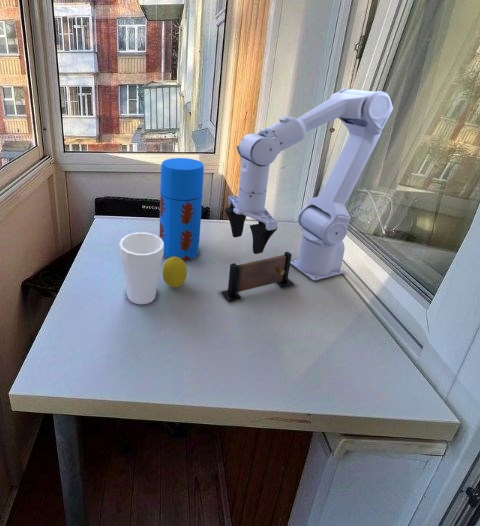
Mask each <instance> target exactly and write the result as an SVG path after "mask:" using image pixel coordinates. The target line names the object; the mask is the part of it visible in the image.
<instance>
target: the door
mask: <svg viewBox="0 0 480 526" xmlns="http://www.w3.org/2000/svg"><path fill="white" fill-rule="evenodd" d="M285 260H286V256H284V254H282V255H277V256H273V257H268V258H263V259H260V260H255V261H254V260H253V261H249V262H246V263H241V264H236V265H237V266H238V272H237V282H236V291H235V292H237V293H238V294H239V293H240V292H244V291H249V290H253V289H255V288H260V287H264V286H267V285H271V284H277V282H280V281H282V280H283V274H284V273H285V271H284V267H285Z"/></svg>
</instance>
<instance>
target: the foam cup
mask: <svg viewBox="0 0 480 526" xmlns="http://www.w3.org/2000/svg"><path fill="white" fill-rule="evenodd" d="M118 245H119V246H118V251H119V256H120V259H121V265H122V272H123V277H124V278H123V279H124V282H125V284H124V285H125V290H126V295H127V299H128V300H129V301H131V303H133V304H137V305H147V304H150V303H152V302H153V301H154V300H155V299H156V295H157V291H158V290H157V289H158V284H159V277H160V272H161V265H162V260H163V258H164V255H163V254H164V242H163V241H162V239H161V238H160V237H159V235H156V234H155V233H151V232H147V231H145V232H143V231H142V232H132V233H128V234H126V235H125V236H123V237H121V240H119V243H118Z"/></svg>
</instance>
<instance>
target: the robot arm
mask: <svg viewBox="0 0 480 526" xmlns="http://www.w3.org/2000/svg"><path fill="white" fill-rule="evenodd" d="M393 110H394V106H393V103H392V100H391V97H390V95H389V94H388V93H387V92H385V91H380V90H379V91H373V90H371V91H370V90H362V89H361V90H360V89H352V88H343V89H340V90H339V91H338V92H334V93H331V95H330V97H329V98H328V99H326V100H325V101H324V102H321V103H320V104H319V105H317V106H315V107H313V108H312V109H310V110H309V111H306V112H305V113H304V114H302V115H300V116H298V117H297V118H296V117H294V116H281V117H280V118H279V119H278V120H279V121H277V122H276V123H273V124H271V125H270V126H268V127H263V128H261V129H259V132H258V133H255V132H254V133H253V132H252V133H248V134H246V135H245V136H243V137H242V138H241V140H240V142H239V144H237V145H236V151H237V154H238V155H239V157H240V172H239V183H238V184H239V185H238V195H229V196H227V205H229V206H228V207H225V209H224V212H225V213H226V216H227V218H228V221H229V224H230V229H231V235H232V237H233V238H240V237H242V236H243V232H244V227H245V222H246V219H247V217H248V218H251V219H253V220H255V221H256V222H257V223H255V224H250V225H249V228H250V231H251V236H252V253H253V254H254V255H258V254H263V252H264V250H265V247H266V245H267V244H268V242H269V240H270V238H271V237H272V236H273V235H274V233H275V232H276V231H277V230H278V220H277V219H276V218H274V217H273V216H272V215H271V213H270V212H269V210H267V209H266V200H267V192H268V191H267V190H268V183H269V181H268V180H269V173H270V165H271V164H272V163H273V162H274V161H275V160H276V158H277V157H278V155H279V154H281V153H282V152H283V151H284V150H286V149H288V148H290V147H292V146H294V145H296V144H298V143H299V142H302V141H303V140H304V139H305V137H306V133H307V132H309V131H311V130H313V129H317V128H318V127H321V126H323V125H325V124H328V123H329V122H332V121H334V120H336V119H339V120H340V122H341V123H342V124H343V125H344V126H345V127H346V130H347V131H348V133H349V135H348V138H347V140H346V142H345V144H344V145H343V147H342V150H341V152H340V154H339V156H338V158H337V160H336V162H335V164H334V166H333V168H332V170H331V172H330V174H329V177H328V178H327V181H326V182H325V185H324V186H323V189H322V191H321V192H320V195H318V196H314V197H311V198H310V199H308V201H307V204H306V205H305V206H304V207H303V208H301V209H300V211H299V213H298V216H297V223H298V225H299V226H300V227H301V230H300V231H301V232H302V235H301V241H300V242H301V243H300V248H299V253H298V259H294V260H293V259H292V260H291V262H290V265H291V266H293V267H294V268H296V269H297V270H298V271H300V272H301V273H302V274H303V275H305V276H306V277H308V278H309V279H310V280H312V281H319V280H323V279H328V278H331V277H334V276H338V275H342V274H344V270H342V269H341V268H342V264H343V259H344V254H345V249H346V248H345V243H344V241H343V240H345V238H346V236H347V234H348V228H349V223H350V221H351V219H352V218H351V215H350V213H349V212H348V210H347V207H346V204H347V202H348V200H349V198H350V196H351V194H352V193H353V190H354V188H355V187H356V184H357V182H358V180H359V179H360V177H361V174H362V173H363V171H364V169H365V167H366V165H367V162H368V161H369V159H370V157H371V155H372V153H373V151H374V149H375V147H376V145H377V143H378V141H379V139H380V137H381V135H382V132H383V129H384V128H385V126H386V123H387V122H388V120H389V118H390V116H391V114H392V112H393Z"/></svg>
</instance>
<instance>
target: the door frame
mask: <svg viewBox="0 0 480 526" xmlns="http://www.w3.org/2000/svg"><path fill="white" fill-rule="evenodd" d="M283 255H284V256H286V260H285V267H284V271H285V273H284V274H283V280H282V281H280V282H276V284H278V285H279V286H280V287H281V288H282V289H285V288H289V287H293V286H294V284H295V283H294V282H293V281H292V280H290V279H289V276H290V275H289V274H290V268H291V264H290V262H291V261H292V256H293V255H292V253H291V252H289V251H284V254H283ZM237 265H238V264H237V263H231V264H229V273H228V274H229V275H228V283H227V284H228V285H227V286H228V287H227V289H226V290H221V295H222V296H223V297H224V298H225V299H226V300H227V302H228V303H231V302H235V301H239V300H242V296H241V295H240V294H239V292H238V293H237V292H235V291H236V282H237V272H238V266H237Z"/></svg>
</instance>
